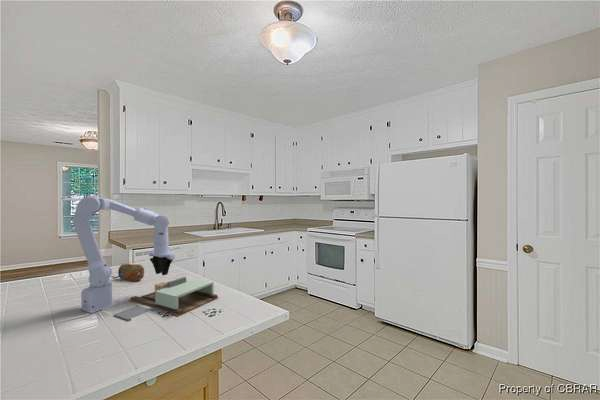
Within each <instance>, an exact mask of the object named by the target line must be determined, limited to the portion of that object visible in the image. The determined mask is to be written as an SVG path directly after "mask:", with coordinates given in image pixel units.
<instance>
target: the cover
mask: <svg viewBox="0 0 600 400" xmlns="http://www.w3.org/2000/svg"><path fill="white" fill-rule="evenodd" d="M166 283H167V287H166V288H163V289H160V290H157V291H155V290H154V292H155V304H158V305H162V306H165V307H169V308H172V309H178V298H179V297H181V296H184V295H186V294H189V293H192V292H194V291H200V292H204V293H208V294H215V293H214V291H215V290H214V282H213V281H210V280H205V279H199V278H194V277H193V278H191V279H188V280H187V277H185V276H182V277H179V278H175V279H173V280H170V281H167V282H166Z"/></svg>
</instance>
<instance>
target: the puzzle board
mask: <svg viewBox="0 0 600 400" xmlns="http://www.w3.org/2000/svg"><path fill="white" fill-rule="evenodd" d="M217 299H219V296H218V294H216V293H214V294H208V293H204V292H200V291H194V292H192V293H189V294H186V295H184V296H181V297H179V298H178V309H172V308H169V307H165V306H162V305H158V304H155V291H153V292H150V293H147V294H144V295H141V296H136V295H134V296H131V297H130V300H129V302H133V303H137V304H138V305H143V306H145V307H150V308H153V309H157V310H160V311H163V312H166V313H170V315H172V316H175V317H181V316H182V315H185V314H187V313H189V312H191V311H193V310H195V309H198V308H199V307H202V306H205V305H206V304H208V303H211V302H213V301H215V300H217Z"/></svg>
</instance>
